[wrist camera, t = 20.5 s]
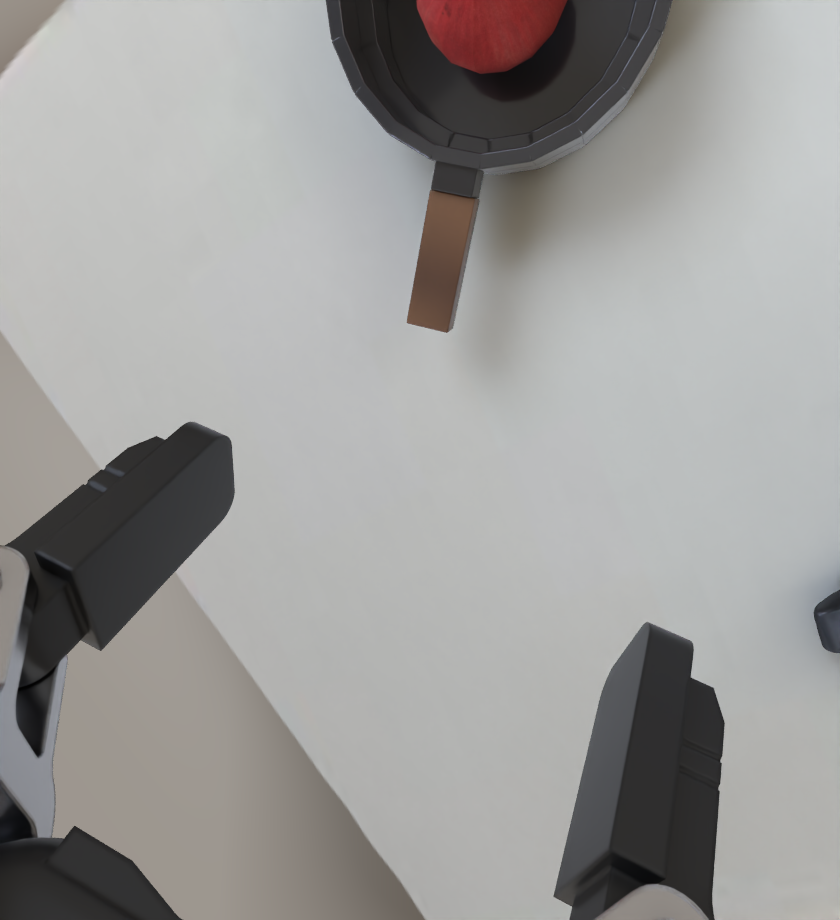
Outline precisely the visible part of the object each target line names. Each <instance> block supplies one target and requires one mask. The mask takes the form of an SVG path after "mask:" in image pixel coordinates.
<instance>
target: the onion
mask: <svg viewBox="0 0 840 920" xmlns="http://www.w3.org/2000/svg"><path fill="white" fill-rule="evenodd" d="M566 2H567V0H417V9H418V12H419V14H420V16H421V19H422V21H423V23H424V25H425V28H426V30H427V32H428V35H429V37H430V39H431V41H432V42H433V43H434V45H435V46H436V47H437V48H438V49H439V50H440V51H441V52H442V53H443V54H444V56H445V57H446V58H447V59H448V60H449V61H450V62H451V63H452V64H455V65H458V66H461V67H463V68H466V69H469V70H471V71H474V72H477V73H479V74H485V73H495V72H505V71H508V70H510V69H512V68H514V67H515V66H517V65H519V64H521V63H523V62H524V61H526V60H528V59H530V58H532V56H533V55H534V54H535V53H536V52H537V51H538V50H539V49H540V47H541V46H542V45H543V44H544V43H545V42H546V41H547V39H548V38H549V37H550V36H551V35H552V34H553V32H554V30H555V28H556V26H557V23H558V21H559V19H560V16H561V14H562V12H563V9H564V7H565V5H566Z"/></svg>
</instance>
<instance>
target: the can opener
mask: <svg viewBox="0 0 840 920" xmlns="http://www.w3.org/2000/svg"><path fill="white" fill-rule="evenodd" d="M814 618H815V621H816V624H817V629H818V633H819V636H820V639H821V643H822V646H823V647H824V648H825V649H826V650H828V651H830V652H834V653H840V590H839V591H837V592H835V593H833V594H831V595H830V596H828V597H827V598H826V599H824V600H823V601H822V602H820V603H819V604H818V605H817V606H816V607H815V610H814Z"/></svg>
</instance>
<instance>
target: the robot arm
mask: <svg viewBox="0 0 840 920" xmlns="http://www.w3.org/2000/svg"><path fill="white" fill-rule="evenodd" d="M234 493H235V489H234V473H233V458H232V444H231V440H230V439H229V437H227V436H225V435H223V434H221V433H218V432H216V431H214V430H211V429H209V428H207V427H205V426H202V425H200V424H198V423H195V422H188V423H186V424H184V425H183V426H181V427H180V428H179V429H178V430H177V431H175V432H174V433H173V434H172V435H171V436H169V437H168V438H167V439H166V440H164V439H162V438H159V437H157V436H156V437H153V438H151V439H149V440H146V441H144V442H141V443H139V444H136V445H134V446H132V447H129V448H127V449H126V450H125V451H124V452H122V453H121V454H120V455H119V456H117V457H116V458H115V459H114V460H112V461H111V462H110V463H109V464H108V465H106V468H105V469H104V470H102V469H101V470H100V471H99V472H98V473H96V474H95V475H94V476H93V477H91V478H90V479H89V480H88V483H87V484H86V485H84V484H83V485H82V486H80V487H79V488H78V489H77V490H75V491H74V492H73V493H72V494H71V495H69V496H68V497H67V498H66V499H64V500H63V501H62V502H61V503H59V504H58V505H57V506H56V507H54V508H53V509H52V510H51V511H50V512H48V513H47V514H46V515H45V516H43V517H42V518H41V519H40V520H38V521H37V522H36V523H35V524H33V525H32V526H31V527H30V528H29V529H27V530H26V531H25V532H24V533H22V534H21V535H20V536H19V537H17V538H16V539H15V540H13V541H12V542H10V543H8V544H7V545H5V546H1V545H0V920H182V919H180V918H179V917H178V916H177V915H176V914H175V913H174V911H173V910H172V909H171V908H170V906H169V905H168V904H167V903H166V902H165V900H164V899H163V898H162V897H161V896H160V894H159V893H158V892H157V891H156V889H155V888H154V887H153V886H152V885H151V883H150V882H149V881H148V880H147V878H146V877H145V876H144V875H143V873H142V872H141V871H140V870H139V869H138V867H137V866H136V865H135V864H134V862H133V861H132V860H130V859H128V858H127V857H125V856H124V855H122V854H120V853H119V852H117V851H115V850H114V849H112V848H110V847H109V846H107V845H105V844H104V843H102V842H100V841H99V840H97V839H95V838H94V837H92V836H90V835H89V834H87V833H86V832H84V831H82V830H81V829H79V828H77V827H76V826H74V827H73V828H72V830H71V831H70V832H69V833H68V835H67V836H66V837H65V839H62V838H52V833H53V826H54V818H55V785H54V779H53V757H54V749H55V743H56V736H57V729H58V723H59V716H60V710H61V703H62V695H63V689H64V683H65V676H66V669H67V660H68V657H67V654H68V653H69V652H70V650H71V649H72V648H73V647H74V646H75V645H76V644H77V643H78V642H79V641H80V640H82V641H83V642H85V643H87V644H89V645H91V646H92V647H95V648H96V649H98V650H100V651H101V650H102V649H103V648H104V647H105V646H106V645H107V644H108V643H109V642H110V641H111V640H112V638H113V637H114V636H115V635H116V634H117V633H118V632H119V631H120V630H121V629H122V628H123V626H125V625H126V623H127V622H128V621H129V620H130V619H131V618H132V617H133V616H134V615H135V614H136V613H137V612H138V611H139V609H140V608H141V607H142V606H143V605H144V604H145V603H146V602H147V601H148V600H149V599H150V598H151V597H152V596H153V594H154V593H155V592H156V591H157V590H158V589H159V588H160V587H161V586H162V585H163V584H164V583H165V581H166V580H167V579H168V578H169V577H170V576H171V575H172V574H173V573H174V572H175V571H176V570H177V569H178V568H179V567H180V565H181V564H182V563H183V562H184V561H185V560H186V559H187V558H188V557H189V556H190V555H191V554H192V553H193V551H194V550H195V549H196V548H197V547H198V546H199V545H200V544H201V543H202V542H203V541H204V540H205V539H206V538H207V536H208V535H209V534H210V533H211V532H212V531H213V530H214V529H215V528H216V527H217V526H218V525H219V524H220V522H221V521H222V520H223V519H224V517H225V516H226V515H227V513H228V511H229V509H230V507H231V505H232V502H233V498H234ZM693 651H694V649H693V643H692V642H691V641H690V640H687V639H685V638H683V637H681V636H678V635H676V634H674V633H671V632H669V631H667V630H665V629H662V628H660V627H658V626H655V625H653V624H651V623H649V622H646V623H645V624H644V625H643V626H642V627H641V629H640V630H639V631H638V633H637V634H636V635H635V637H634V638H633V640H632V641H631V642H630V644H629V645H628V647H627V648H626V649H625V651H624V652H623V653H622V655H621V656H620V658H619V659H618V660H617V662H616V663H615V665H614V666H613V668H612V669H611V671H610V673H609V675H608V678H607V680H606V682H605V685H604V687H603V690H602V693H601V697H600V701H599V705H598V709H597V713H596V718H595V722H594V726H593V730H592V735H591V739H590V743H589V747H588V752H587V756H586V760H585V764H584V769H583V773H582V777H581V782H580V786H579V790H578V794H577V799H576V803H575V807H574V811H573V816H572V820H571V824H570V828H569V833H568V837H567V841H566V845H565V850H564V854H563V858H562V862H561V867H560V871H559V875H558V880H557V884H556V888H555V892H554V897H555V898H557V899H559V900H561V901H563V902H564V903H566V904H568V905H570V906H572V911H571V916H570V920H715V919H714V914H713V906H712V888H713V875H714V861H715V847H716V834H717V820H718V806H719V792H720V791H719V790H718V787H719V785H720V779H721V765H722V763H720V759H721V757H722V751H723V738H724V724H725V723H724V720H723V716H722V713H721V710H720V707H719V704H718V701H717V697H716V694H715V691H714V688H713V687H710V686H708V685H706V684H704V683H701V682H699V681H697V680H695V679H692V678H690V677H691V669H692V661H693Z"/></svg>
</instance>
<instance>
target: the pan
mask: <svg viewBox="0 0 840 920" xmlns="http://www.w3.org/2000/svg"><path fill="white" fill-rule="evenodd" d="M672 1H673V0H567V2H566V5H565V7H564V9H563V12H562V14H561V16H560V19H559V21H558V23H557V26H556V28H555V30H554V32H553V34H552V35H551V36H550V37H549V38H548V39H547V41H546V42H545V43H544V44H543V45H542V46H541V47H540V49H539V50H538V51H537V52H536V53H535V54H534V55H533V56H532V58H530V59H528V60H526V61H524V62H523V63H521V64H519V65H517V66H515V67H514V68H512V69H510V70H508V71H505V72H495V73H485V74H479V73H477V72H474V71H471V70H469V69H466V68H463V67H461V66H458V65H455V64H452V63H451V62H450V61H449V60H448V59H447V58H446V57H445V56H444V54H443V53H442V52H441V51H440V50H439V49H438V48H437V47H436V46H435V45H434V43H433V42H432V41H431V39H430V37H429V35H428V32H427V30H426V28H425V25H424V23H423V21H422V19H421V16H420V14H419V12H418V9H417V0H326V5H327V12H328V19H329V26H330V33H331V39H332V43H333V45H334V48H335V50H336V52H337V55H338V57H339V59H340V62H341V64H342V66H343V69H344V71H345V73H346V76H347V78H348V80H349V83H350V85H351V87H352V90H353V92H354V93H355V95H356V96H357V98H358V99H359V100H360V101H361V102H362V104H363V105H364V106H365V107H366V108H367V110H368V111H369V112H370V113H371V114H372V115H373V117H374V118H375V119H376V120H377V121H378V123H379V124H380V125H381V126H382V127H383V129H384V130H385V131H386V132H387V133H389V135H390V136H392V137H394V138H395V139H397V140H399V141H400V142H402V143H404V144H405V145H407V146H409V147H410V148H412V149H414V150H415V151H417V152H418V153H420V154H422V155H423V156H425V157H427V158H428V159H430V160H433V161H437V162H442V163H447V164H452V165H457V166H462V167H468V168H473V169H477V170H480V171H483V172H484V173H485V174H490V175H501V174H507V173H514V172H521V171H528V170H534V169H539V168H542V167H544V166H546V165H548V164H550V163H552V162H554V161H556V160H558V159H560V158H562V157H564V156H566V155H568V154H570V153H572V152H574V151H576V150H578V149H580V148H582V147H583V146H584V145H586V144H587V143H588V142H589V141H590V140H591V139H593V138H594V137H595V136H596V135H597V134H598V133H599V132H600V131H601V130H602V129H603V128H604V127H605V126H606V125H607V124H608V123H609V122H610V121H611V120H612V119H614V118H615V117H616V116H617V115H618V114H619V113H620V112H621V111H622V110H623V108H624V107H625V106H626V104H627V103H628V101H629V99H630V98H631V96H632V94H633V93H634V91H635V89H636V88H637V86H638V84H639V83H640V81H641V79H642V78H643V76H644V74H645V73H646V71H647V69H648V68H649V66H650V64H651V63H652V61H653V59H654V56H655V54H656V51H657V48H658V46H659V43H660V40H661V37H662V35H663V32H664V29H665V25H666V22H667V18H668V15H669V11H670V8H671V4H672Z"/></svg>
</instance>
